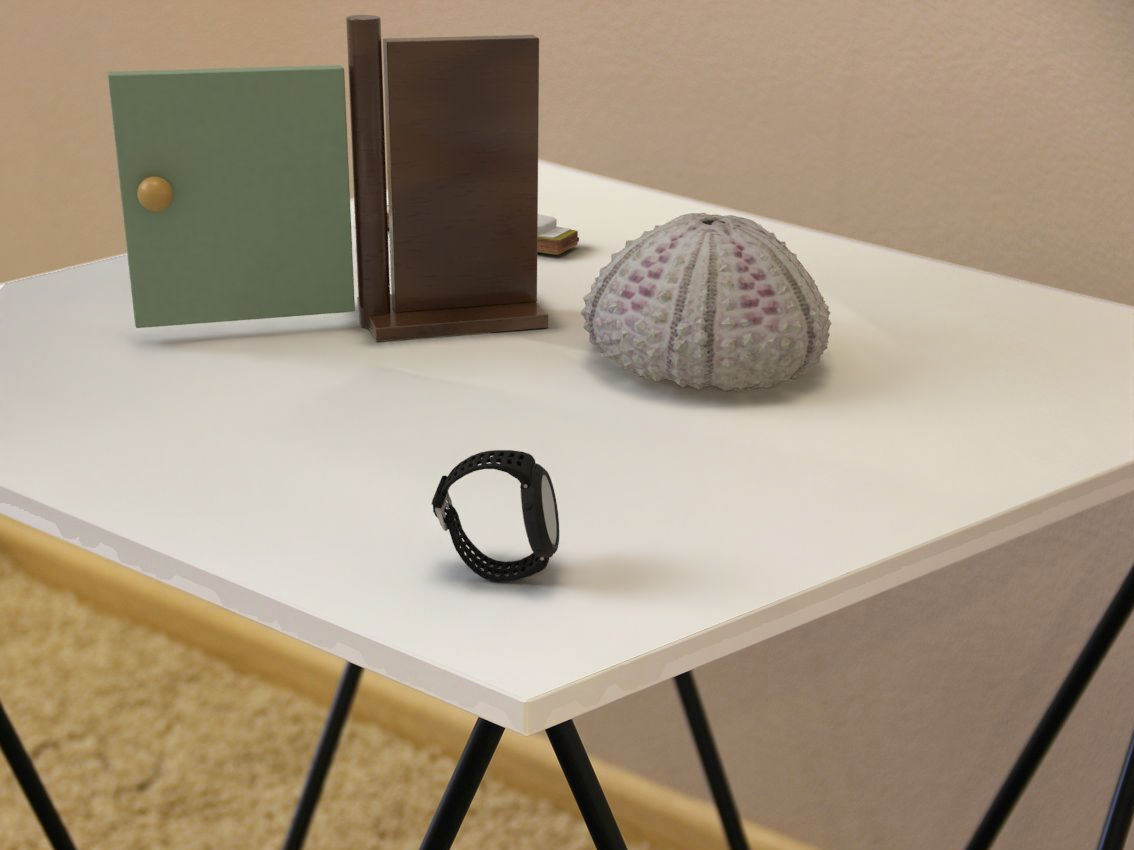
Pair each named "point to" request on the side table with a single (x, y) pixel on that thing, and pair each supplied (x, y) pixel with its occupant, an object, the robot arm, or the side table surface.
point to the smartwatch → (535, 509)
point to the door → (234, 192)
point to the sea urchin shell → (708, 306)
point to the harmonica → (549, 236)
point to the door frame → (445, 182)
